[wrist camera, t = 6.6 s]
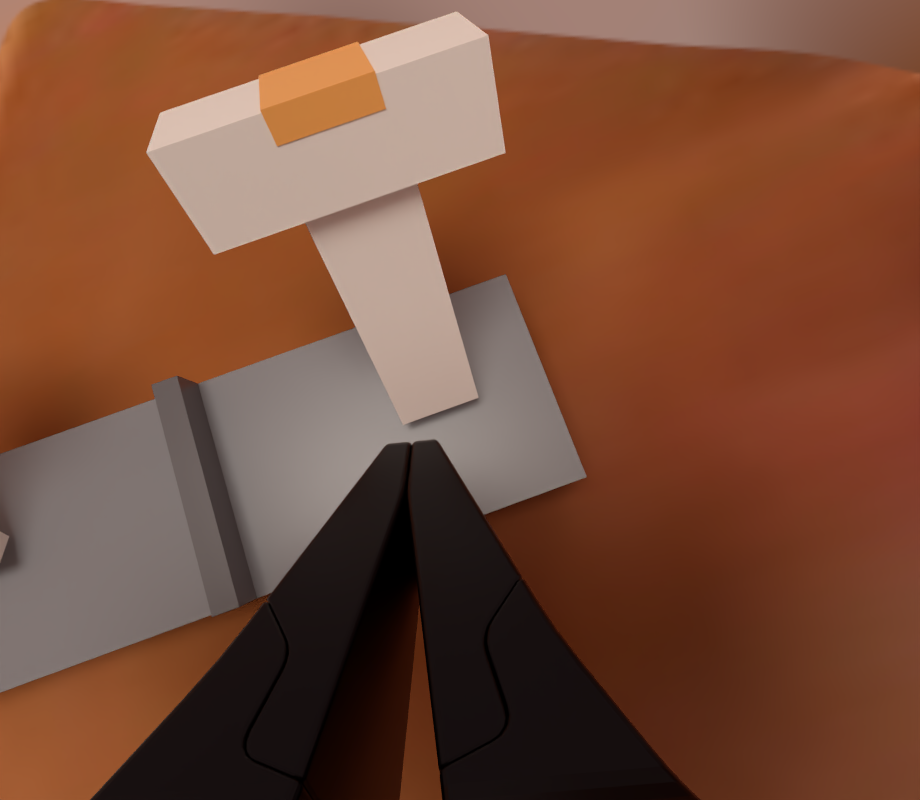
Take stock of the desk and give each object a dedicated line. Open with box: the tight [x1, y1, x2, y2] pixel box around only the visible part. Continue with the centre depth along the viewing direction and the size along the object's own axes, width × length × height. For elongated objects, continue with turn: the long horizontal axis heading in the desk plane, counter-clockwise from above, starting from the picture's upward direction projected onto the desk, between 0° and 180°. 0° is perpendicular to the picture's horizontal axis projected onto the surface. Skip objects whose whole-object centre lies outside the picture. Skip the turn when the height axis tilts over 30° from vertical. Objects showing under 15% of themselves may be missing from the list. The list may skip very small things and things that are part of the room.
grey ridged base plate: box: [0, 274, 587, 692], centre depth 17 cm, size 7×22×4 cm, turn 110°
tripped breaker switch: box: [146, 12, 505, 425], centre depth 13 cm, size 2×6×9 cm
